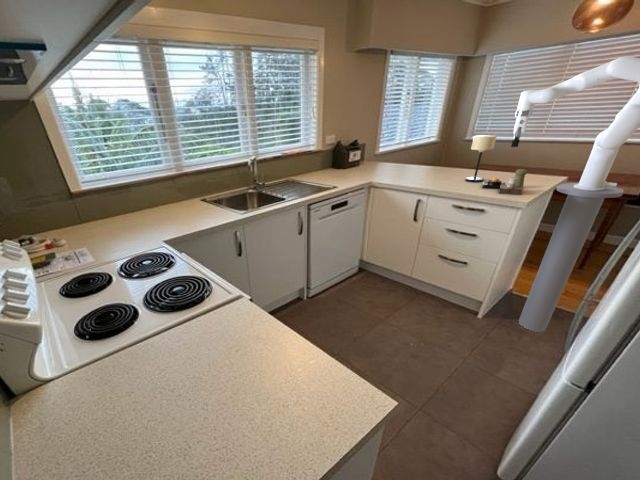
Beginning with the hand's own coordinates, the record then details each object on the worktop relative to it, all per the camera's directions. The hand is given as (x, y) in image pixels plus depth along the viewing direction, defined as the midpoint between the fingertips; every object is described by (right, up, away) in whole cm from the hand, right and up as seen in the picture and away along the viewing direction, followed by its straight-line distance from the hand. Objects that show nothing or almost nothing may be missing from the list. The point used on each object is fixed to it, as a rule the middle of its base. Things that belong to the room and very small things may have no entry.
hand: (514, 146), depth 182 cm
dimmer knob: (-8, -27, -7) cm, 29 cm away
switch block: (-8, -24, +6) cm, 26 cm away
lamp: (-7, -15, +23) cm, 29 cm away
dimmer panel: (-8, -29, -6) cm, 31 cm away
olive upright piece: (+3, -25, +1) cm, 25 cm away
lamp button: (-8, -20, +4) cm, 22 cm away
